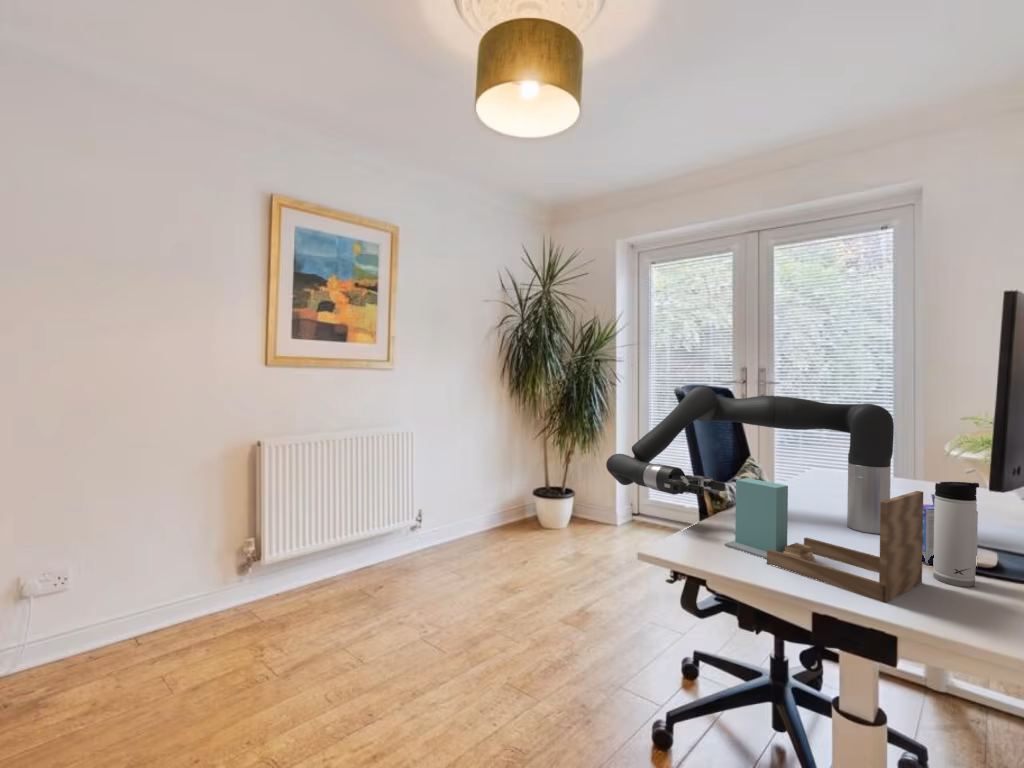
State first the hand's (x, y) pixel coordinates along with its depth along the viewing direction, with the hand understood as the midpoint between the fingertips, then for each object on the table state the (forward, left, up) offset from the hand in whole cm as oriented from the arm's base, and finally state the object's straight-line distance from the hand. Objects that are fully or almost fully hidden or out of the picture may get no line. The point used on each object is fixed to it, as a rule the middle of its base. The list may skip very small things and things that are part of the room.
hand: (713, 489), depth 128 cm
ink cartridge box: (-26, +39, -12) cm, 48 cm away
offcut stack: (-1, +21, -12) cm, 24 cm away
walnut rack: (0, +30, -12) cm, 32 cm away
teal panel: (0, +13, -11) cm, 17 cm away
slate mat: (0, +13, -12) cm, 17 cm away
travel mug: (-15, +44, -12) cm, 48 cm away
